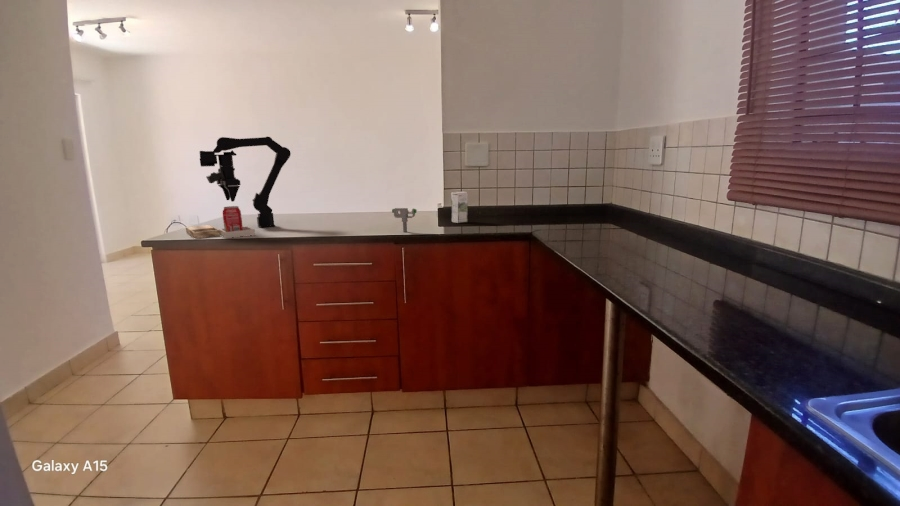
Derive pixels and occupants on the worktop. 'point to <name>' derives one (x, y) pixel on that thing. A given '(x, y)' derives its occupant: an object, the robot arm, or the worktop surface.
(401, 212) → the mechanical component
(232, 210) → the soda can
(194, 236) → the light wood shallow tray
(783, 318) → the worktop surface
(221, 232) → the frame
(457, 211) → the syrup box
